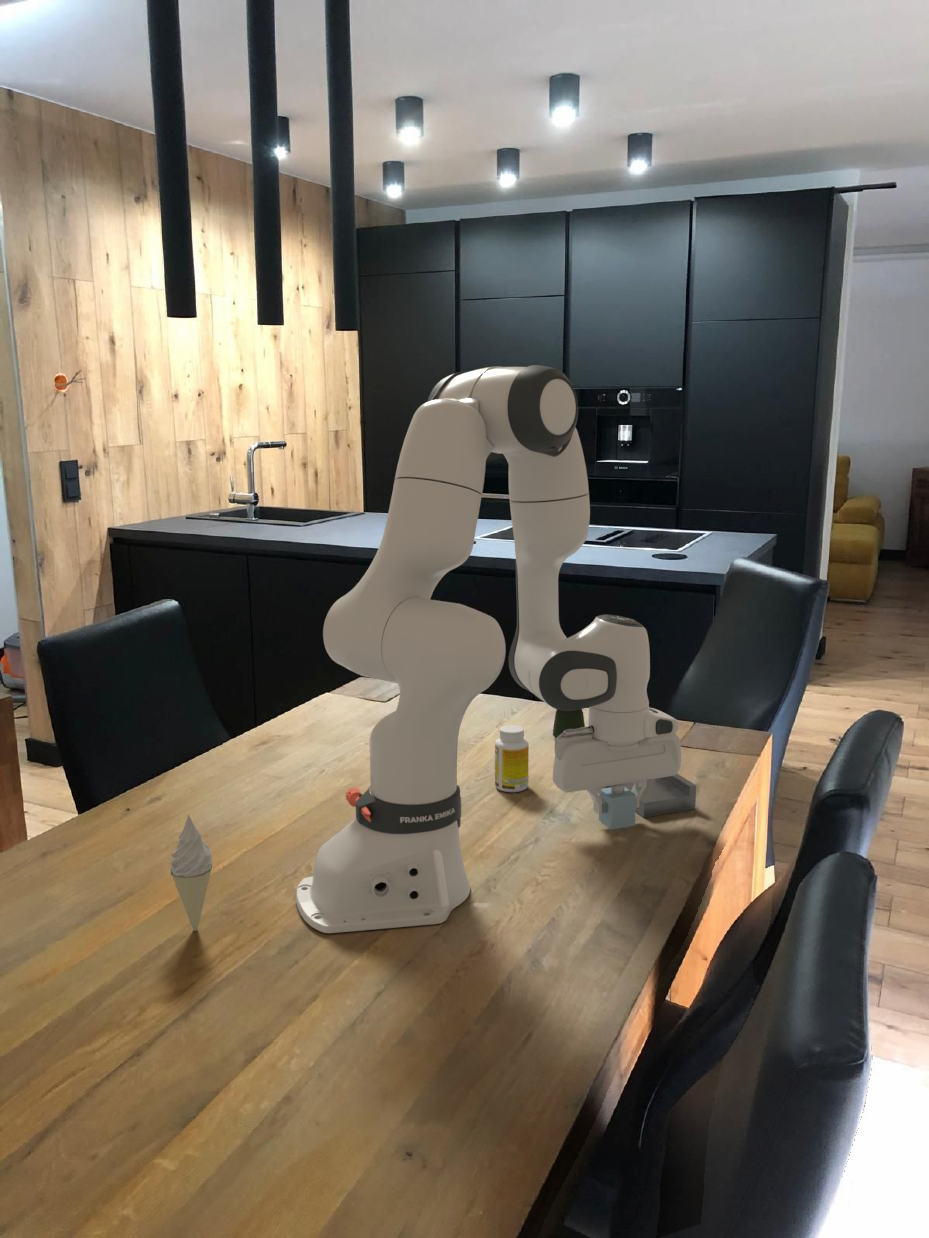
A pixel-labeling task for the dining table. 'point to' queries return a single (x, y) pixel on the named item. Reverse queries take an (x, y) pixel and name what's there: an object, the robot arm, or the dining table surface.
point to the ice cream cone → (191, 871)
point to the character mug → (567, 721)
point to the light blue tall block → (618, 807)
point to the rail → (665, 796)
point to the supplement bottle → (511, 759)
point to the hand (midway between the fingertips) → (616, 809)
